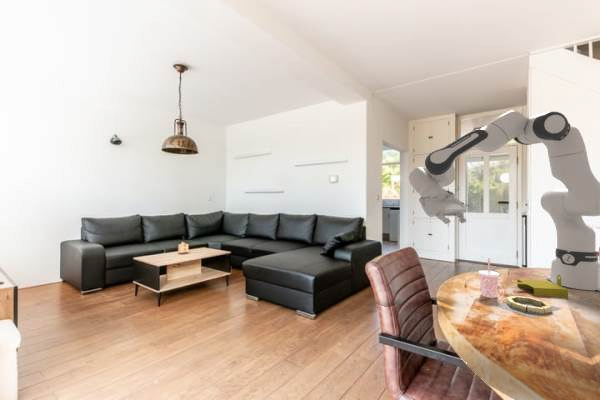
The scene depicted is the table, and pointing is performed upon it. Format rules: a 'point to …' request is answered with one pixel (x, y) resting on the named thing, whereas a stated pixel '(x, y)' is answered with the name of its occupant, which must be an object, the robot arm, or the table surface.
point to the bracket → (544, 287)
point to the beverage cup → (489, 282)
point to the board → (523, 311)
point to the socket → (543, 309)
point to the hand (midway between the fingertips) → (456, 222)
